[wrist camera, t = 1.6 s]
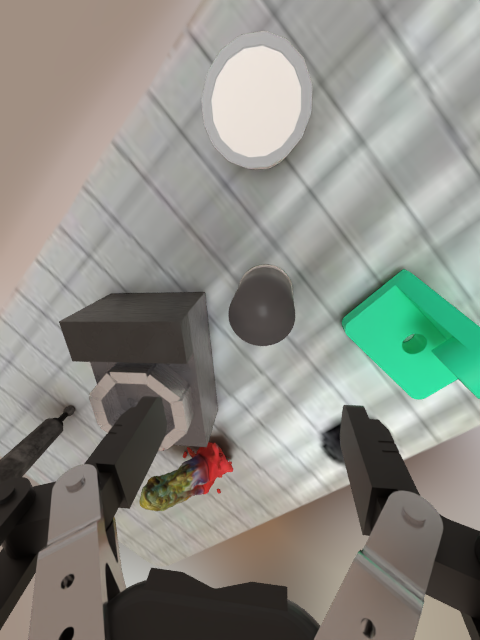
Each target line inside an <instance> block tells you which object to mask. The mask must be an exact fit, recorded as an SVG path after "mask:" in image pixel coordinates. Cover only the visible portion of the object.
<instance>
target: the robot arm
mask: <svg viewBox="0 0 480 640" xmlns="http://www.w3.org/2000/svg"><path fill="white" fill-rule="evenodd" d="M166 431H167V420H166V416H165V411H164V406H163V402H162V399H161V397H153V396H144V397H142V398H141V400H140V401H139V402H138V404H137V405H136V407H131V408H129V409H128V410H127V411H126V412H124V413H123V414H122V415H121V416H120V417H119V418H118V420H117V421H116V422H115V424H114V426H112V428H111V429H110V430H109V432H108V434H106V436H105V437H104V438H103V440H102V441H101V442H100V444H99V445H98V446H97V448H96V449H95V450H94V452H93V453H92V454H91V456H90V457H89V458H88V460H87V461H86V462H85V464H83V465H79V466H76V467H74V468H72V469H70V470H68V471H67V472H65V473H64V474H63V475H62V476H61V477H60V478H59V479H58V480H57V481H56V482H52V483H48V484H43V485H39V486H34V487H32V485H31V483H30V481H29V480H28V479H27V478H23V477H18V478H14V479H11V480H8V481H6V482H4V483H2V484H0V546H1V545H2V547H3V549H2V550H1V552H0V630H1V628H2V626H3V625H4V623H5V622H6V620H7V618H8V616H9V615H10V613H11V612H12V610H13V609H14V607H15V605H16V604H17V602H18V600H19V599H20V597H21V595H22V594H23V592H24V590H25V589H26V587H27V586H28V584H29V582H30V581H31V579H32V577H33V576H34V574H35V573H36V576H35V585H34V594H33V602H32V611H31V620H30V630H29V639H28V640H414V637H415V633H416V629H417V626H418V622H419V619H420V615H421V612H422V608H423V604H424V596H425V594H426V595H429V596H431V597H433V598H434V599H437V600H439V601H441V602H443V603H445V604H447V605H449V606H451V607H453V608H455V609H457V610H459V611H460V612H461V614H462V617H463V619H464V622H465V624H466V627H467V629H468V632H469V635H470V637H471V640H480V531H478V530H475V529H472V528H470V527H467V526H464V525H462V524H459V523H457V522H454V521H451V520H449V519H447V518H445V517H443V516H441V515H440V514H439V513H438V512H437V510H436V509H435V508H434V507H433V506H432V505H431V504H430V503H429V502H428V501H427V500H426V499H424V498H423V497H421V496H420V494H419V492H418V490H417V489H416V486H415V484H414V482H413V480H412V478H411V476H410V474H409V472H408V470H407V467H406V465H405V463H404V461H403V459H402V457H401V455H400V454H399V451H398V449H397V446H396V444H394V440H393V438H392V436H391V434H390V432H389V430H388V429H387V428H386V427H385V426H384V425H383V424H382V423H381V422H380V421H379V420H374V419H369V417H368V415H367V413H366V410H365V408H364V406H355V405H344V406H343V411H342V420H341V429H340V443H341V449H342V453H343V457H344V461H345V465H346V469H347V473H348V477H349V481H350V485H351V489H352V494H353V498H354V502H355V505H356V509H357V513H358V517H359V522H360V526H361V530H362V534H363V535H368V536H369V538H368V540H367V542H366V544H365V546H364V548H363V550H362V551H361V550H360V551H359V552H358V553H357V555H356V557H355V558H354V560H353V562H352V564H351V566H350V568H349V570H348V572H347V574H346V576H345V578H344V580H343V583H342V584H341V586H340V589H339V590H338V592H337V594H336V596H335V599H334V600H333V602H332V605H331V606H330V608H329V610H328V612H327V614H326V616H325V618H324V620H323V622H322V624H321V626H320V625H319V624H318V623H317V622H316V620H315V619H314V618H313V617H312V616H311V615H310V614H309V613H307V612H306V611H305V610H304V609H303V608H301V607H300V606H298V605H297V604H295V603H294V602H292V601H290V600H288V599H287V587H285V586H278V585H271V584H264V583H256V582H249V583H244V584H238V585H233V586H228V587H223V588H218V589H214V588H211V587H209V586H208V585H206V584H204V583H202V582H200V581H198V580H196V579H194V578H193V577H191V576H189V575H187V574H185V573H183V572H178V571H171V570H163V569H157V568H151V570H150V572H149V576H148V578H147V580H146V581H142V582H139V583H137V584H134V585H132V586H130V587H128V588H126V585H125V581H124V578H123V573H122V568H121V560H120V553H119V545H118V537H117V529H116V522H115V517H114V515H115V514H116V512H117V510H118V508H128V509H130V507H131V505H132V503H133V501H134V499H135V497H136V495H137V492H138V490H139V488H140V486H141V484H142V482H143V480H144V478H145V476H146V474H147V472H148V470H149V468H150V466H151V464H152V462H153V460H154V458H155V456H156V454H157V452H158V450H159V448H160V446H161V444H162V442H163V440H164V437H165V435H166Z"/></svg>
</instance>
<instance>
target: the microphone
mask: <svg viewBox="0 0 480 640" xmlns="http://www.w3.org/2000/svg"><path fill="white" fill-rule="evenodd" d="M73 413H74V408H73V407H71V406H68V407H66V408H65V409H64V411H63V414H62V415H61V416H60V417H59V418H53V419H46V420H45V421H44V422H43V423H42V424H41V425H39V426H38V427H37V428H36V429H35V430H34V431H33V432H31V433H30V434H29V435H28V436H27V437H26V438H25V439H23V440H22V441H21V442H20V443H19V444H18V445H17V446H15V447H14V448H13V449H12V450H11V451H10V452H9V453H7V454H6V455H5V456H4V457H3V458H2V459H1V460H0V484H2V483H4V482H6V481H8V480H11V479H14V478H18V477H22V476H23V475H24V474H25V473H26V472H27V471H28V470H29V468H30V467H31V466H32V465H33V464H34V463H35V462H36V461H37V459H38V458H39V457H40V456H41V455H42V454H43V453H44V452H45V450H46V449H47V448H48V447H49V446H50V445H51V444H52V443H53V442H54V440H55V439H56V438H57V437H58V436H59V435H60V434H61V433H62V431H63V422H62V421H63V420H64V419H65V418H66V417H67V416H71V415H72V414H73Z"/></svg>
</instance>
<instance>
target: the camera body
mask: <svg viewBox="0 0 480 640" xmlns="http://www.w3.org/2000/svg"><path fill="white" fill-rule="evenodd" d="M59 323H60V326H61V329H62V332H63V335H64V338H65V341H66V344H67V346H68V349H69V352H70V355H71V358H72V361H82V362H90V363H91V366H92V369H93V373H94V376H95V379H96V382H97V385H96V387H95V388H94V389H93V390H92V392H91V393H90V394H89V395H90V396H89V399H90V402H91V405H92V408H93V411H94V414H95V417H96V420H97V423H98V425H102V426H101V429H103V430H104V431H106V432H107V433H108V432H109V430H110V429H111V428H112V426H114V424H115V422H116V421H117V420H118V418H119V417H120V416H121V415H122V414H123V413H124V412H126V411H127V410H128V409H129V408H131V407H136V405H137V404H138V402H139V401H140V400H141V398H142V397H144V396H153V397H161V399H162V402H163V406H164V411H165V416H166V420H167V431H166V435H165V437H164V440H163V442H162V444H161V446H160V448H159V450H158V451H164V449H166V450H167V449H168V448H170V447H171V446H172V445H183V446H198V447H207V445H208V441H209V438H210V435H211V431H212V428H213V425H214V421H215V418H216V415H217V411H218V405H217V396H216V387H215V378H214V369H213V360H212V351H211V342H210V333H209V324H208V315H207V306H206V297H205V292H184V293H119V294H109V295H107V296H106V297H104V298H102V299H100V300H98V301H96V302H94V303H93V304H91V305H89V306H87V307H85V308H83V309H81V310H80V311H78V312H76V313H74V314H72V315H70V316H68V317H67V318H65V319H63V320H61V321H59Z"/></svg>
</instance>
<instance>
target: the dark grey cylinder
mask: <svg viewBox="0 0 480 640" xmlns="http://www.w3.org/2000/svg"><path fill="white" fill-rule="evenodd" d="M229 322H230V325H231V327H232V329H233V331H234V332H235V333H236V335H238V336H239V337H240V338H241V339H242V340H244V341H245V342H248V343H250V344H253V345H258V346H268V345H272V344H275V343H278V342H280V341H281V340H283V339H284V338H285V337H286V336H287V335H288V334H289V333H290V331H291V330H292V328H293V325H294V322H295V308H294V302H293V288H292V283H291V280H290V278H289V277H288V275H287V274H286V273H285V272H284V271H283V270H282V269H280V268H278V267H276V266H273V265H269V264H263V265H258V266H255V267H253V268H251V269H250V270H248V271H247V272H246V273H245V274H244V276H243V277H242V279H241V281H240V283H239V286H238V289H237V291H236V293H235V295H234V298H233V300H232V302H231V304H230V307H229Z"/></svg>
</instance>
